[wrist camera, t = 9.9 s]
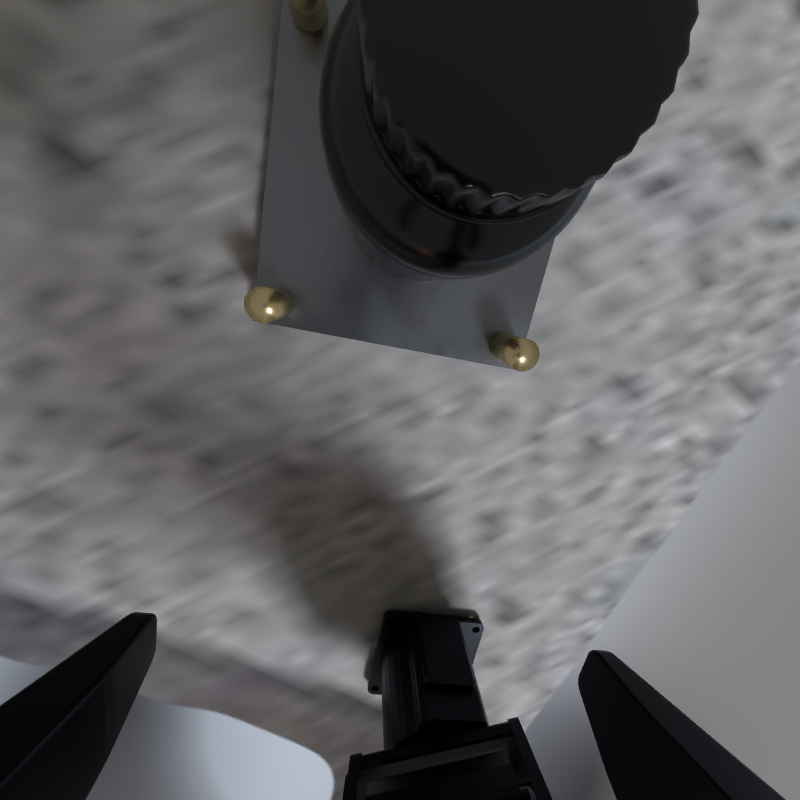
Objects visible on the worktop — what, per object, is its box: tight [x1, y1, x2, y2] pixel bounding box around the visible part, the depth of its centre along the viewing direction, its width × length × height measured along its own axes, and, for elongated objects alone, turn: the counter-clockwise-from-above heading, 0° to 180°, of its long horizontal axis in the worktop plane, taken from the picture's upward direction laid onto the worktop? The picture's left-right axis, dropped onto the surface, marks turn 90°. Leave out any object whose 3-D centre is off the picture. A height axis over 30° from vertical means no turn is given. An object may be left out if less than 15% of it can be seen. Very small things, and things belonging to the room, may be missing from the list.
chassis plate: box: [244, 0, 555, 371], centre depth 16 cm, size 13×13×3 cm
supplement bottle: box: [319, 0, 699, 282], centre depth 11 cm, size 7×7×12 cm
